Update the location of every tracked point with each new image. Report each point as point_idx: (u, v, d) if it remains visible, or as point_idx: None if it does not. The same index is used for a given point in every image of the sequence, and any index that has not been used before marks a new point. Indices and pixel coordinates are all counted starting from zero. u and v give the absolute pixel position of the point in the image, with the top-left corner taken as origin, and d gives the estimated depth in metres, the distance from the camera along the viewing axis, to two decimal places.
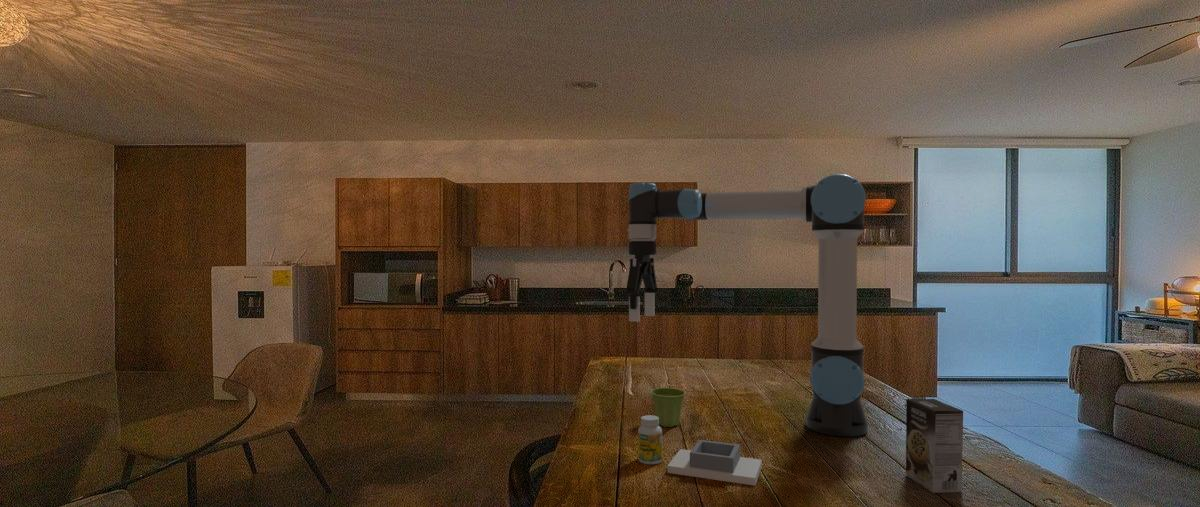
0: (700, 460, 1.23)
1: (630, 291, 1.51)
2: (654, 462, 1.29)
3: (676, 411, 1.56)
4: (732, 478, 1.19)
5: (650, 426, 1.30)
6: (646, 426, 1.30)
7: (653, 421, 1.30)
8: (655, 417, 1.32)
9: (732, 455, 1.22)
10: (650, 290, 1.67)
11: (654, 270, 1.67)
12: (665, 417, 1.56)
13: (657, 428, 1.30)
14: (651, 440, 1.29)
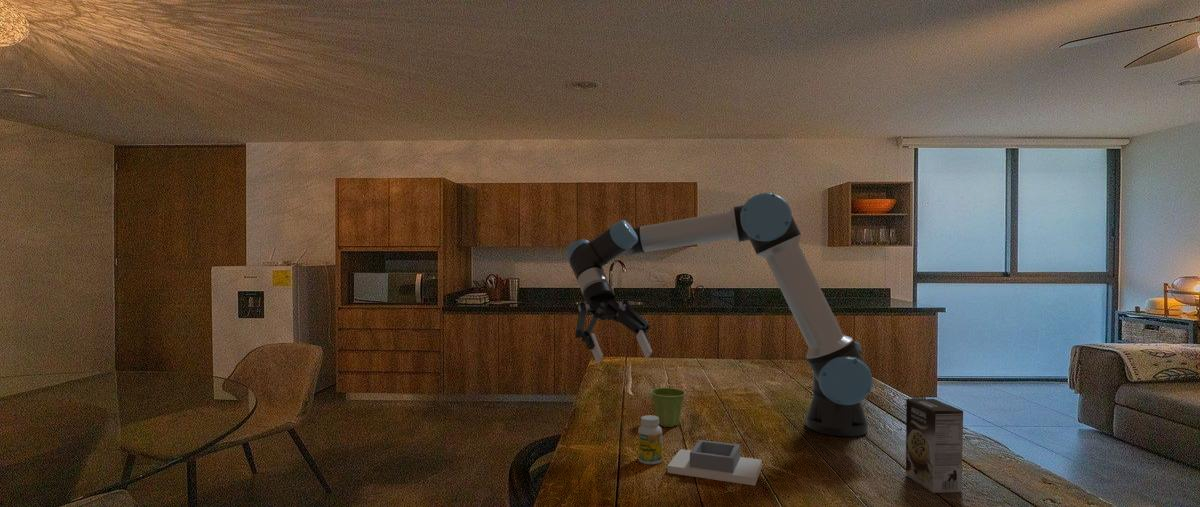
0: (700, 460, 1.23)
1: (576, 332, 1.41)
2: (654, 462, 1.29)
3: (676, 411, 1.56)
4: (732, 478, 1.19)
5: (650, 426, 1.30)
6: (646, 426, 1.30)
7: (653, 421, 1.30)
8: (655, 417, 1.32)
9: (732, 455, 1.22)
10: (639, 330, 1.49)
11: (634, 310, 1.52)
12: (665, 417, 1.56)
13: (657, 428, 1.30)
14: (651, 440, 1.29)
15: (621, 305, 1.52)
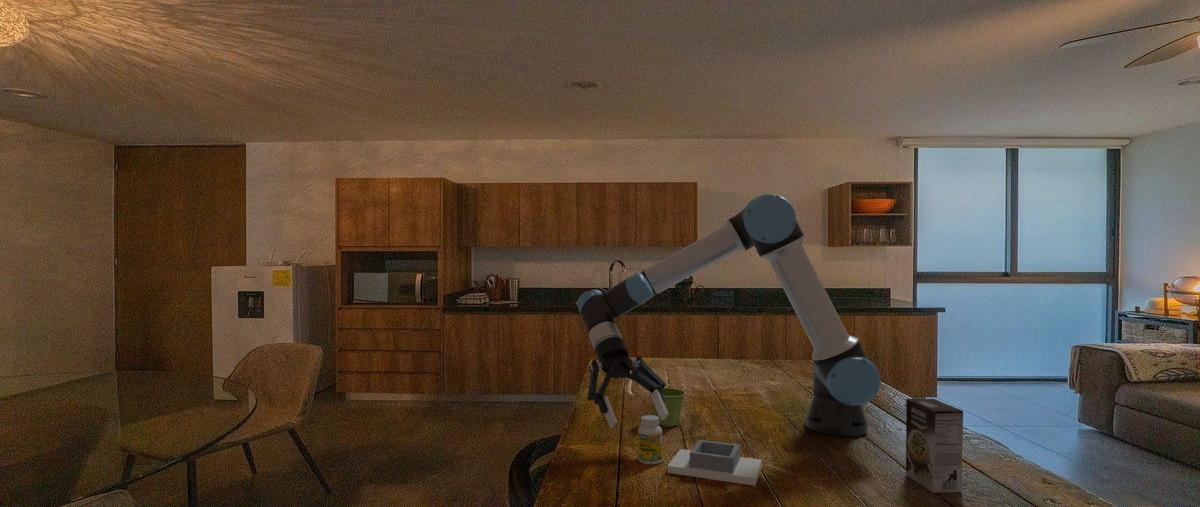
0: (700, 460, 1.23)
1: (589, 395, 1.34)
2: (654, 462, 1.29)
3: (676, 411, 1.56)
4: (732, 478, 1.19)
5: (650, 426, 1.30)
6: (646, 426, 1.30)
7: (653, 421, 1.30)
8: (655, 417, 1.32)
9: (732, 455, 1.22)
10: (654, 389, 1.41)
11: (648, 367, 1.45)
12: None
13: (657, 428, 1.30)
14: (651, 440, 1.29)
15: (635, 361, 1.45)
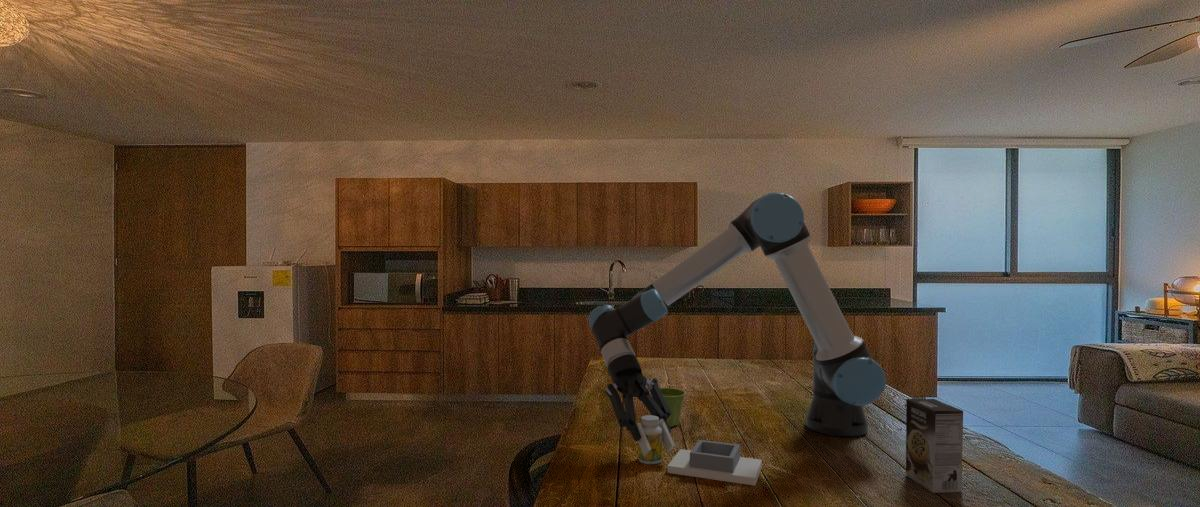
0: (700, 460, 1.23)
1: (621, 421, 1.30)
2: (654, 462, 1.29)
3: (676, 411, 1.56)
4: (732, 478, 1.19)
5: (650, 426, 1.30)
6: (646, 426, 1.30)
7: (653, 420, 1.30)
8: (655, 417, 1.32)
9: (732, 455, 1.22)
10: (659, 419, 1.34)
11: (660, 392, 1.39)
12: None
13: (657, 428, 1.30)
14: (651, 440, 1.29)
15: (649, 382, 1.40)
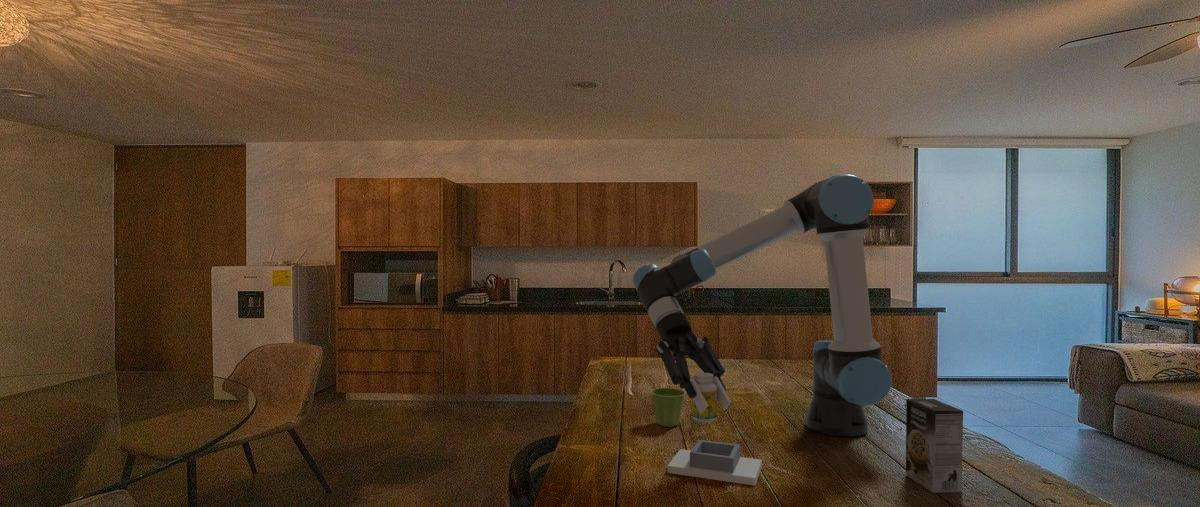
0: (700, 460, 1.23)
1: (674, 378, 1.26)
2: (710, 420, 1.24)
3: (676, 411, 1.56)
4: (732, 478, 1.19)
5: (705, 383, 1.25)
6: (700, 383, 1.25)
7: (707, 377, 1.25)
8: (709, 374, 1.27)
9: (732, 455, 1.22)
10: (713, 376, 1.30)
11: (712, 350, 1.34)
12: (665, 417, 1.56)
13: (712, 385, 1.26)
14: (707, 397, 1.24)
15: (700, 341, 1.36)
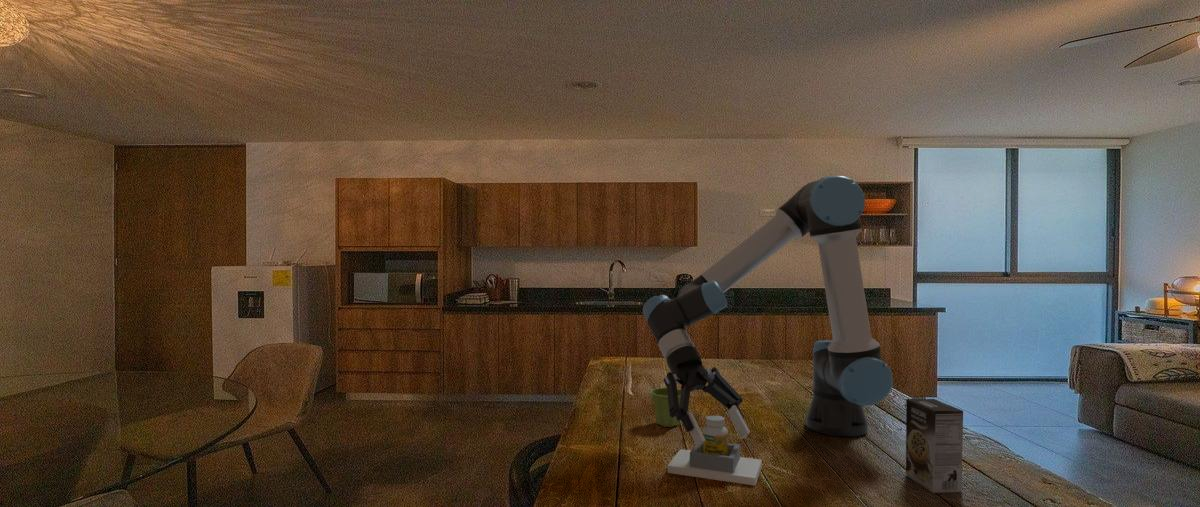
0: (700, 460, 1.23)
1: (672, 411, 1.24)
2: None
3: None
4: (732, 478, 1.19)
5: (716, 427, 1.24)
6: (712, 426, 1.25)
7: (719, 421, 1.24)
8: (720, 417, 1.26)
9: (732, 455, 1.22)
10: (731, 405, 1.31)
11: (725, 380, 1.34)
12: (665, 417, 1.56)
13: (723, 429, 1.25)
14: (718, 441, 1.24)
15: (710, 372, 1.35)
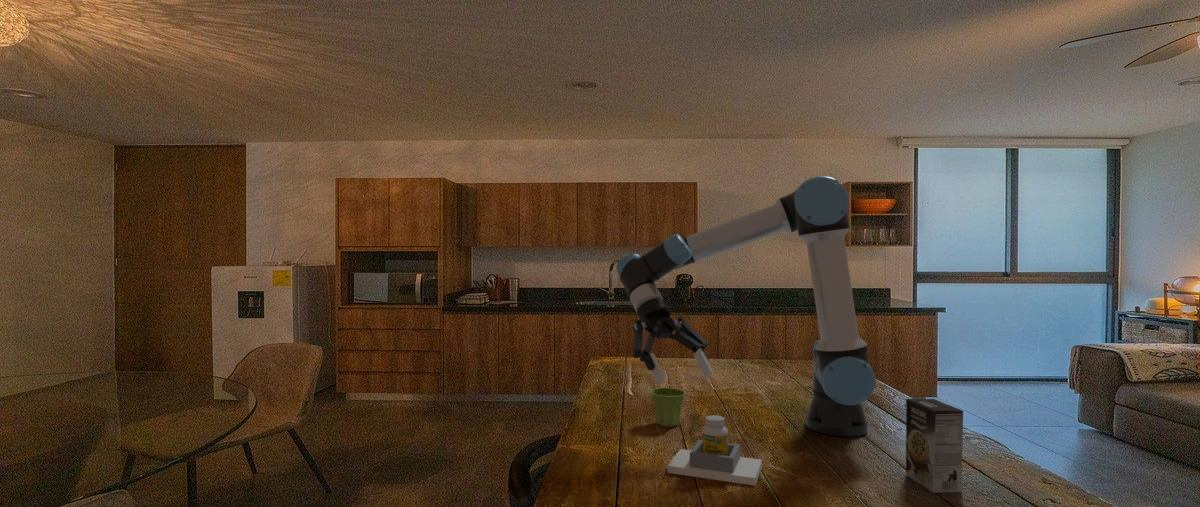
0: (700, 460, 1.23)
1: (635, 352, 1.35)
2: None
3: (676, 412, 1.56)
4: (732, 478, 1.19)
5: (716, 427, 1.24)
6: (712, 426, 1.25)
7: (719, 421, 1.24)
8: (720, 417, 1.26)
9: (732, 455, 1.22)
10: (697, 349, 1.43)
11: (690, 327, 1.46)
12: (665, 417, 1.56)
13: (723, 429, 1.25)
14: (718, 441, 1.24)
15: (676, 322, 1.47)
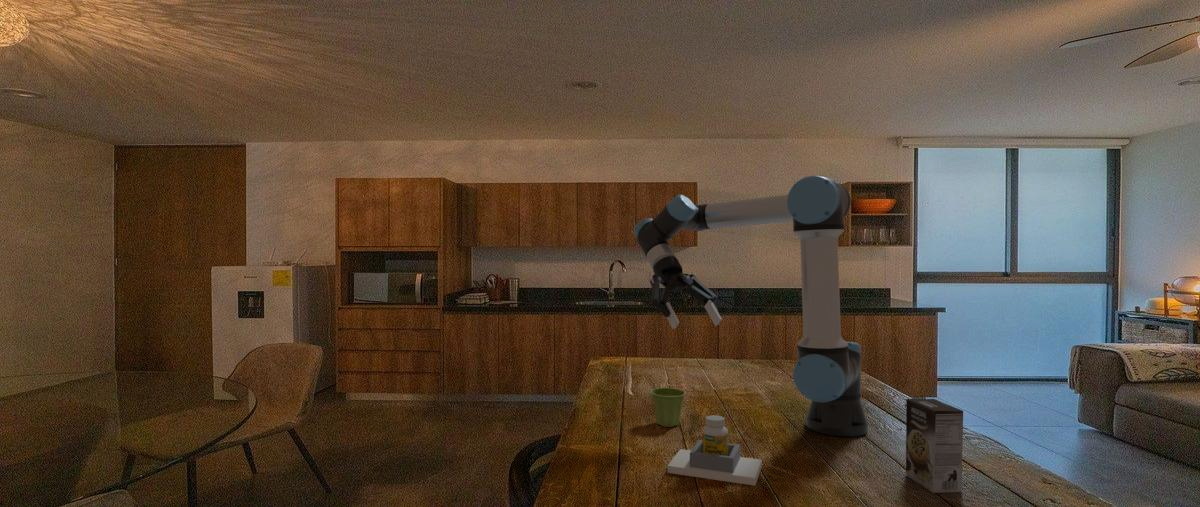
0: (700, 460, 1.23)
1: (652, 301, 1.52)
2: None
3: (676, 412, 1.56)
4: (732, 478, 1.19)
5: (716, 427, 1.24)
6: (712, 426, 1.25)
7: (719, 421, 1.24)
8: (720, 417, 1.26)
9: (732, 455, 1.22)
10: (707, 301, 1.60)
11: (701, 283, 1.63)
12: (665, 417, 1.56)
13: (723, 429, 1.25)
14: (718, 441, 1.24)
15: (689, 278, 1.64)
